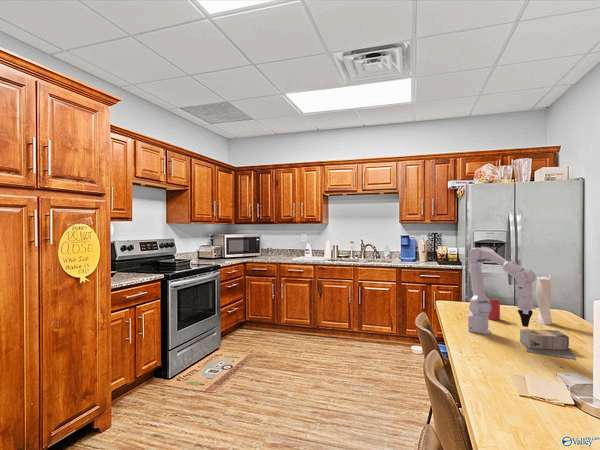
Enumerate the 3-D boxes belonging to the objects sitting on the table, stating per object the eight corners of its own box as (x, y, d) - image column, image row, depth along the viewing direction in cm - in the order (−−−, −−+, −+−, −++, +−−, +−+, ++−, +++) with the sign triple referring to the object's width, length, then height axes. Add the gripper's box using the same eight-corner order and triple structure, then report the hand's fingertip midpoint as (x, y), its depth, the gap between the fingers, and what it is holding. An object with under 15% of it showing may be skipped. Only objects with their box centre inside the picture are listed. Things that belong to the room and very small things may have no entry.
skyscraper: (557, 325, 191) (557, 274, 191) (546, 326, 189) (546, 275, 189) (542, 320, 199) (542, 272, 199) (532, 322, 197) (532, 273, 197)
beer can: (498, 318, 205) (498, 297, 205) (501, 321, 199) (501, 300, 199) (486, 317, 207) (486, 297, 207) (488, 320, 201) (488, 299, 201)
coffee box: (519, 328, 163) (557, 329, 160) (519, 341, 163) (557, 343, 160) (529, 334, 154) (569, 336, 151) (529, 348, 154) (569, 351, 151)
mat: (526, 351, 151) (526, 351, 151) (525, 342, 163) (525, 341, 163) (576, 359, 142) (576, 359, 142) (570, 349, 154) (570, 348, 154)
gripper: (536, 300, 149) (536, 332, 149) (534, 294, 161) (534, 323, 161) (517, 299, 152) (517, 329, 152) (516, 293, 165) (516, 321, 165)
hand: (525, 326), depth 157 cm, fingers closed
